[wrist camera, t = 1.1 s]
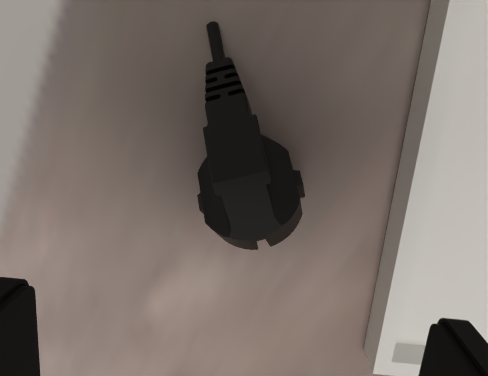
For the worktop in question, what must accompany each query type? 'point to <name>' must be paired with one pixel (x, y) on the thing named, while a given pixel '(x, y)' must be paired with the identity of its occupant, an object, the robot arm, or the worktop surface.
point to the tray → (437, 196)
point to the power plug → (243, 164)
